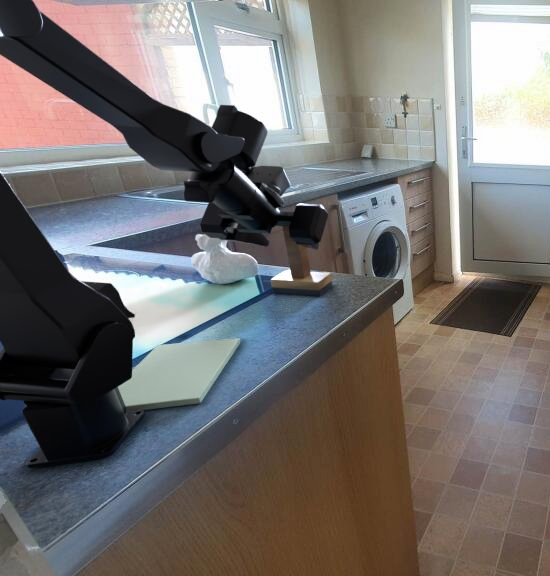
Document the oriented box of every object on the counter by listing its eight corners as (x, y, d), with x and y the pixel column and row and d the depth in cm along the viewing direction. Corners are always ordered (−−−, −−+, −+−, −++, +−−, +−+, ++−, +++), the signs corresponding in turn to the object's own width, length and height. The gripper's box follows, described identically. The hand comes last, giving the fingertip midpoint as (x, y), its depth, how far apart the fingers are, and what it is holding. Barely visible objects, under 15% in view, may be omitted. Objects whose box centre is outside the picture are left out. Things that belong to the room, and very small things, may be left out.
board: (200, 403, 47) (198, 397, 46) (93, 416, 44) (90, 410, 44) (240, 342, 59) (239, 337, 59) (159, 349, 57) (157, 344, 56)
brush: (320, 296, 75) (309, 227, 70) (272, 293, 75) (258, 224, 70) (333, 286, 79) (323, 220, 74) (288, 283, 80) (276, 217, 75)
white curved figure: (197, 290, 80) (157, 259, 70) (212, 258, 84) (175, 224, 74) (260, 292, 81) (228, 261, 71) (271, 260, 84) (242, 226, 75)
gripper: (313, 152, 61) (353, 210, 75) (194, 146, 62) (256, 204, 76) (292, 216, 57) (339, 264, 71) (164, 208, 58) (236, 258, 72)
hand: (292, 245), depth 73 cm, fingers open, 9 cm apart
